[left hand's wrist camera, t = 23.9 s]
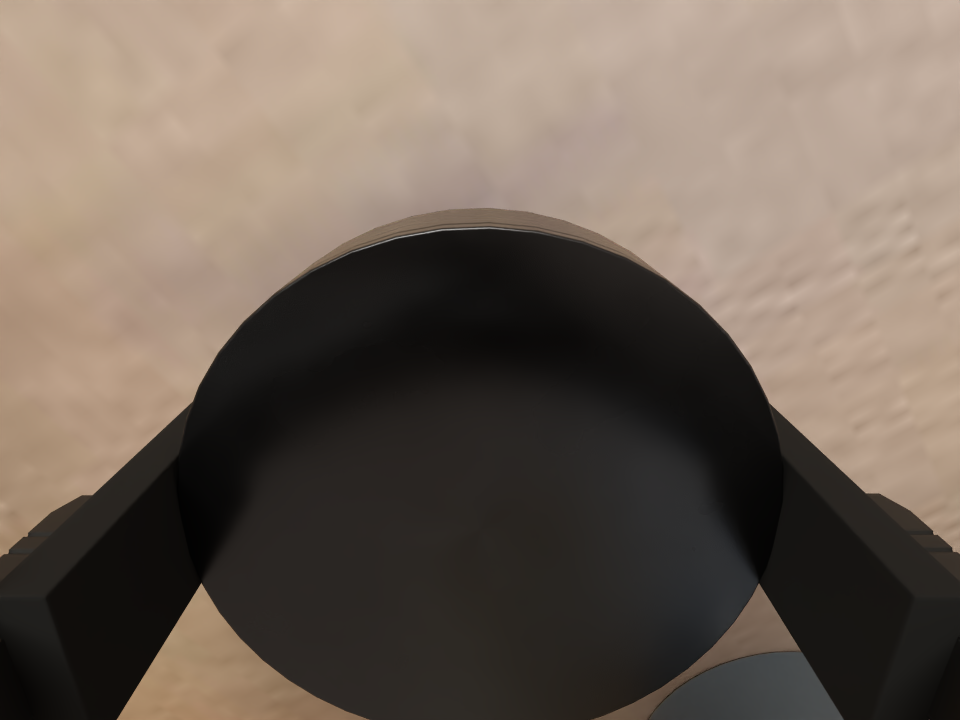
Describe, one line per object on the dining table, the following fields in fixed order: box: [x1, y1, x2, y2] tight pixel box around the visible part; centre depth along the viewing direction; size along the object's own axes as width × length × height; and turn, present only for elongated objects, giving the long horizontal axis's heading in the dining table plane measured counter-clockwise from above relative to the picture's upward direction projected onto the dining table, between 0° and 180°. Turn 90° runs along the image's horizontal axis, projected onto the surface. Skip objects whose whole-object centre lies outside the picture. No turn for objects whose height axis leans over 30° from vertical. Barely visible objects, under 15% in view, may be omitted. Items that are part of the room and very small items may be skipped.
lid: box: [177, 208, 784, 720], centre depth 11 cm, size 11×11×2 cm
